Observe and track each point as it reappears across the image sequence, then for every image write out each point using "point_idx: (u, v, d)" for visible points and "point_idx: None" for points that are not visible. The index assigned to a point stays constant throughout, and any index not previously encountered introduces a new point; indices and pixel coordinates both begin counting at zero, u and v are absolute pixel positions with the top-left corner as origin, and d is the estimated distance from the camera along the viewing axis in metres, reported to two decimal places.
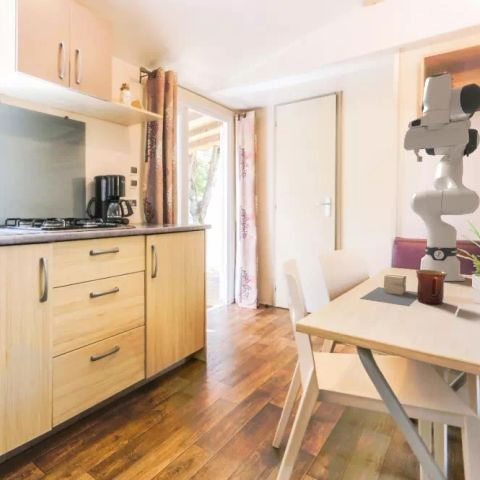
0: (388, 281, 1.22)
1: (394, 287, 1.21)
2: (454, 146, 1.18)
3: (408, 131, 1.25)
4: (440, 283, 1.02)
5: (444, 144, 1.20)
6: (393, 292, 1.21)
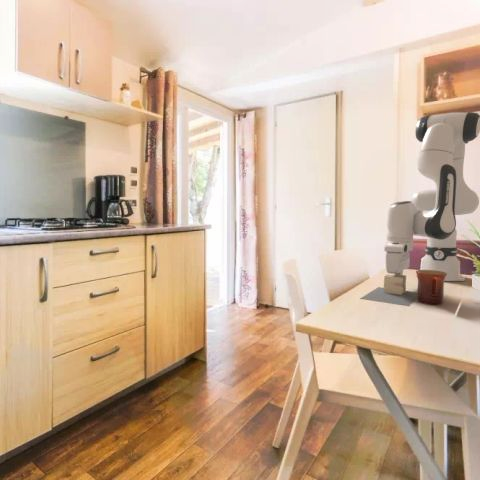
0: (388, 281, 1.22)
1: (394, 287, 1.21)
2: (402, 271, 1.28)
3: (401, 256, 1.18)
4: (440, 283, 1.02)
5: (405, 268, 1.28)
6: (393, 292, 1.21)
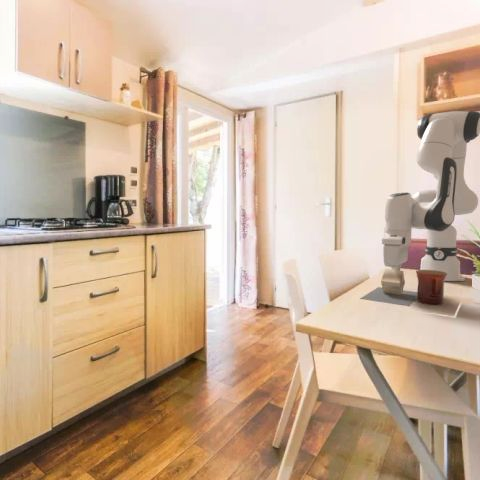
0: (386, 285, 1.20)
1: (393, 289, 1.19)
2: (400, 264, 1.25)
3: (399, 248, 1.15)
4: (440, 283, 1.02)
5: (403, 261, 1.25)
6: (392, 293, 1.20)
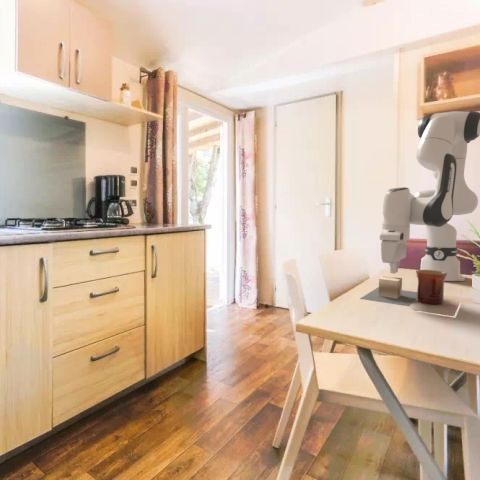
0: None
1: None
2: None
3: (397, 244, 1.12)
4: (440, 283, 1.02)
5: (401, 258, 1.23)
6: None
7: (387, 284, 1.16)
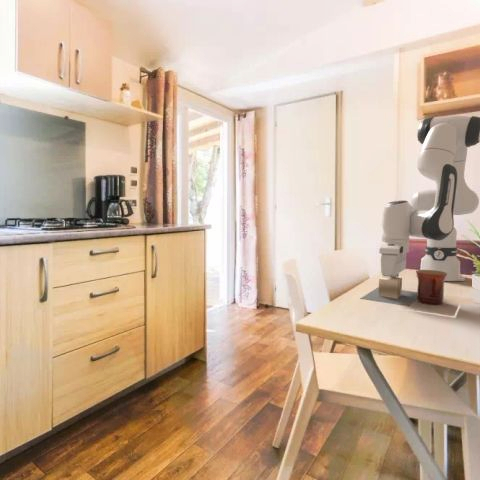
0: None
1: None
2: (398, 273, 1.22)
3: (396, 258, 1.13)
4: (440, 283, 1.02)
5: (401, 270, 1.23)
6: None
7: (387, 284, 1.16)
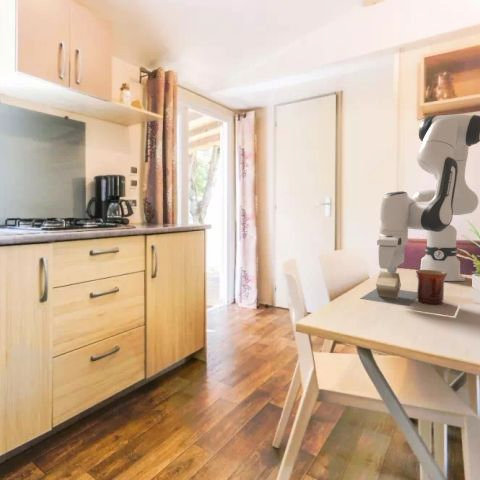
0: None
1: None
2: (396, 266, 1.20)
3: (394, 249, 1.10)
4: (440, 283, 1.02)
5: (399, 263, 1.20)
6: None
7: (385, 288, 1.14)
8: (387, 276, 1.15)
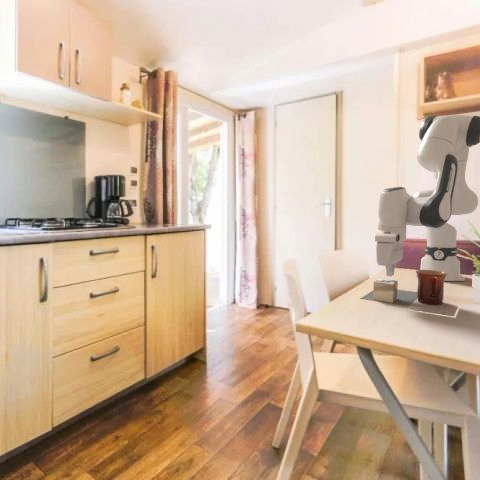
0: None
1: None
2: (395, 263, 1.18)
3: (392, 246, 1.08)
4: (440, 283, 1.02)
5: (398, 260, 1.18)
6: None
7: None
8: (382, 288, 1.11)
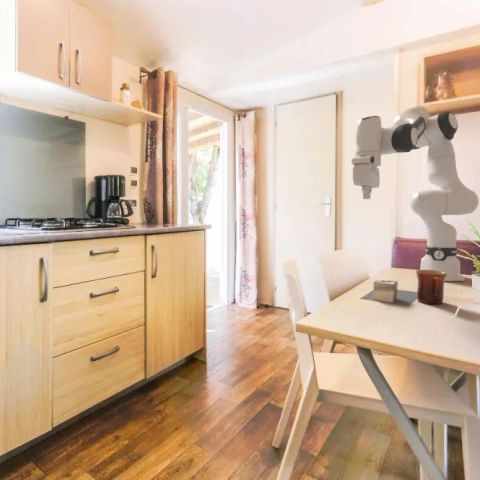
0: None
1: None
2: (371, 188, 1.28)
3: (367, 166, 1.18)
4: (440, 283, 1.02)
5: (374, 185, 1.28)
6: None
7: None
8: (382, 288, 1.11)
